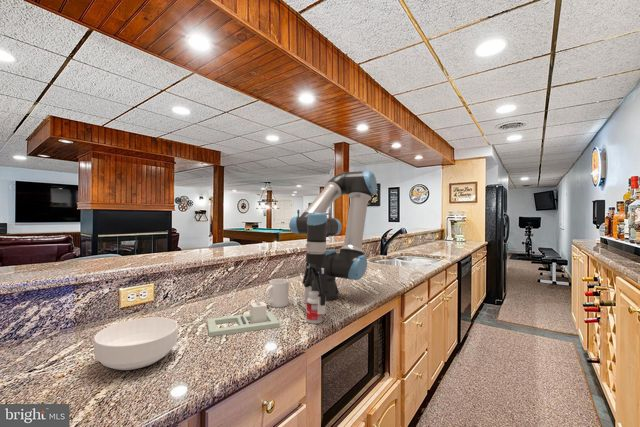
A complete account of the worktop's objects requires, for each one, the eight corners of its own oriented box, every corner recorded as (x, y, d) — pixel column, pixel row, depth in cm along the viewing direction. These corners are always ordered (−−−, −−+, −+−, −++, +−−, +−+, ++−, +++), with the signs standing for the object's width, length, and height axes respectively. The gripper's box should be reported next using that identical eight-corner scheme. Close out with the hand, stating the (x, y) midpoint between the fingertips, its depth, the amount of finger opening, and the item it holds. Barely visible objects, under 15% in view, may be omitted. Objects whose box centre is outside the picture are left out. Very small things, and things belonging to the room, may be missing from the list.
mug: (258, 306, 130) (259, 282, 130) (279, 300, 139) (280, 277, 139) (271, 311, 124) (271, 285, 124) (292, 304, 133) (292, 281, 133)
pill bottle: (306, 318, 117) (307, 290, 117) (322, 318, 117) (323, 290, 117) (305, 324, 111) (306, 294, 111) (322, 324, 111) (323, 295, 111)
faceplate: (270, 315, 120) (270, 309, 119) (279, 327, 108) (279, 321, 108) (207, 322, 110) (207, 317, 110) (209, 336, 98) (209, 330, 98)
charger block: (263, 319, 114) (263, 301, 114) (266, 324, 110) (266, 304, 110) (249, 321, 112) (250, 302, 112) (252, 326, 108) (253, 306, 108)
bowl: (82, 387, 69) (82, 351, 69) (104, 350, 87) (105, 321, 87) (175, 371, 77) (176, 339, 77) (178, 340, 95) (179, 314, 95)
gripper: (296, 249, 124) (294, 300, 124) (320, 257, 101) (317, 320, 101) (312, 248, 127) (310, 298, 127) (339, 257, 104) (337, 317, 104)
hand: (314, 308), depth 114 cm, fingers open, 13 cm apart
